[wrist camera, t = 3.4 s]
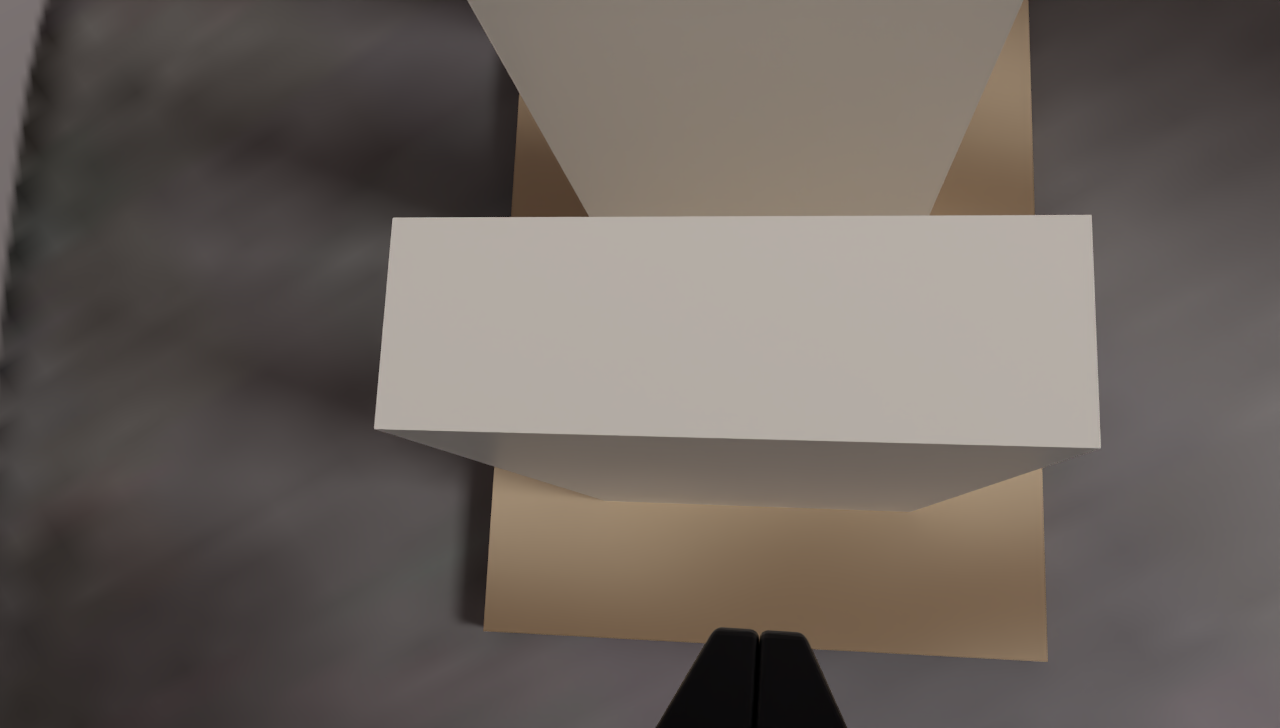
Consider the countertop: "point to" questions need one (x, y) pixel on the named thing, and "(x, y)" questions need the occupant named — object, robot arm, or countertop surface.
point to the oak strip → (779, 536)
